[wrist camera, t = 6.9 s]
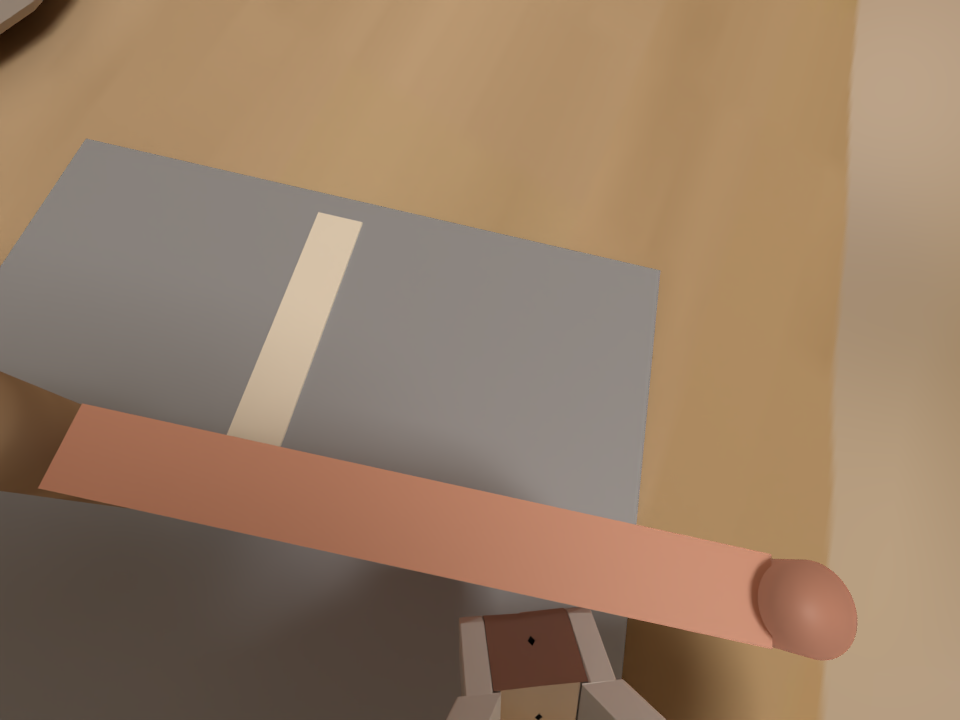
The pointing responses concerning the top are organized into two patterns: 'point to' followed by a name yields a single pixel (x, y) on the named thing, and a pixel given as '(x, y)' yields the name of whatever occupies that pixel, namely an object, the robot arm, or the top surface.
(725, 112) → the top surface
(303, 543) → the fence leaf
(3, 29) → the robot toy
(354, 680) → the board
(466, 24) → the top surface
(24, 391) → the fence fixed
